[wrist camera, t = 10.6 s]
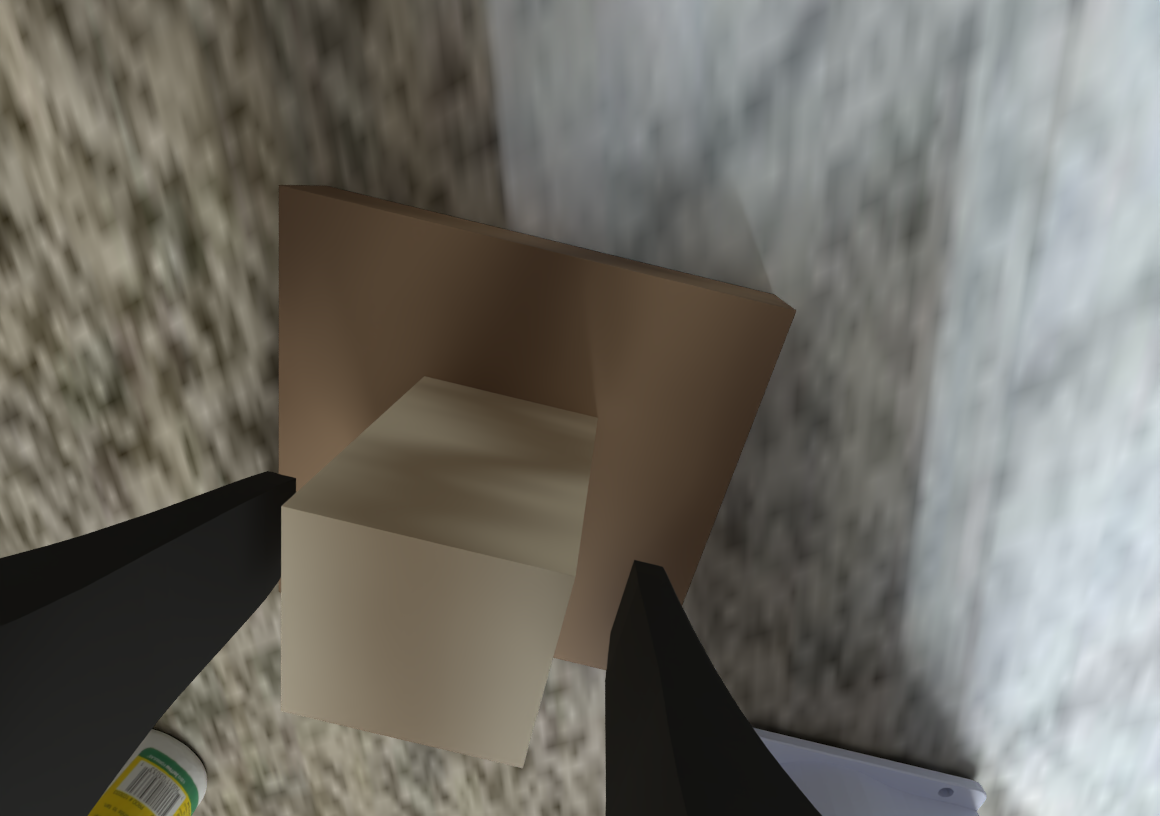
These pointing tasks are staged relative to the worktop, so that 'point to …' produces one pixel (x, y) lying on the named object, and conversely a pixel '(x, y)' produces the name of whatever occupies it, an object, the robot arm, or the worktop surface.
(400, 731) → the beech block
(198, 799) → the supplement bottle
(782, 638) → the worktop surface
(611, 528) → the walnut plinth
